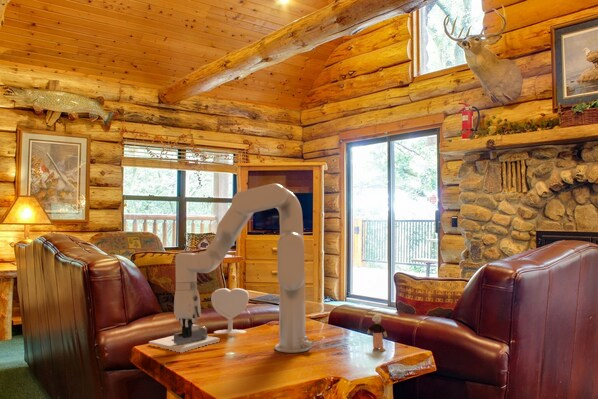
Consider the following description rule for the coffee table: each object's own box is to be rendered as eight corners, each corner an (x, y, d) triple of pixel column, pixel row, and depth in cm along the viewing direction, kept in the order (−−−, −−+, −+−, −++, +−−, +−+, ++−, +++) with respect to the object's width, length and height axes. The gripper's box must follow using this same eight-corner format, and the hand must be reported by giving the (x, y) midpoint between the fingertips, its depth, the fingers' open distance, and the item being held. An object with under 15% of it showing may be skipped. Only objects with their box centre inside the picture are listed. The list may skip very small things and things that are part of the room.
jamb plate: (219, 341, 188) (219, 327, 188) (180, 352, 173) (180, 337, 173) (188, 335, 199) (188, 322, 199) (148, 345, 183) (149, 330, 184)
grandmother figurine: (389, 349, 175) (388, 314, 176) (386, 352, 172) (386, 315, 172) (368, 347, 178) (368, 312, 179) (365, 350, 175) (365, 314, 176)
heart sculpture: (210, 333, 203) (210, 289, 204) (212, 330, 208) (212, 288, 209) (248, 333, 203) (248, 289, 204) (249, 330, 208) (249, 287, 209)
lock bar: (203, 336, 189) (203, 325, 189) (208, 337, 187) (208, 326, 187) (172, 342, 179) (172, 331, 179) (177, 344, 177) (177, 332, 177)
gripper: (208, 286, 178) (208, 337, 177) (180, 284, 187) (181, 332, 186) (192, 289, 172) (193, 342, 171) (164, 286, 181) (165, 336, 180)
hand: (186, 337), depth 178 cm, fingers closed
